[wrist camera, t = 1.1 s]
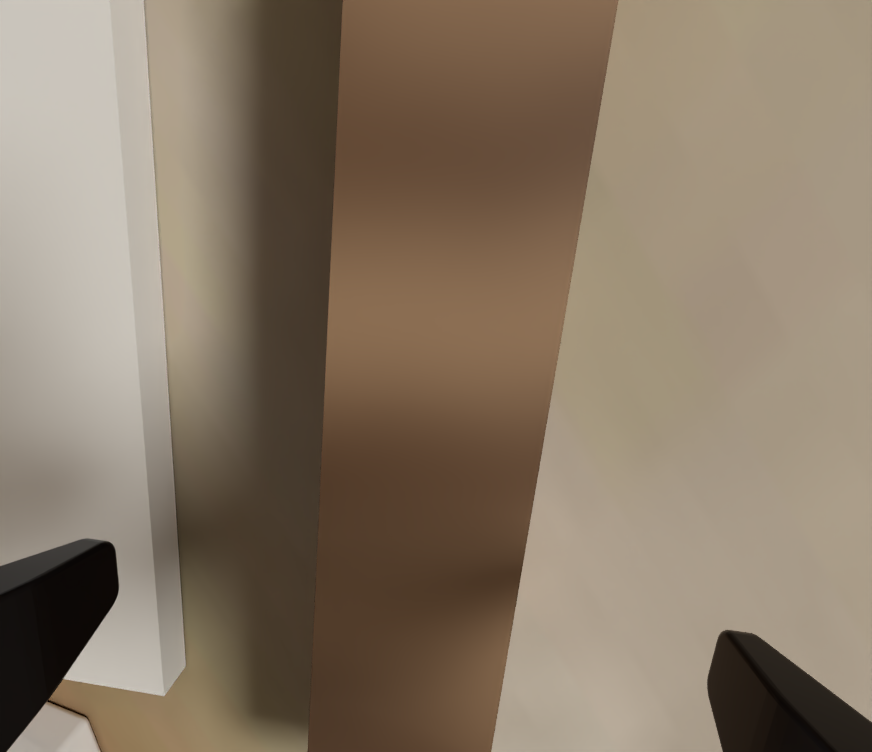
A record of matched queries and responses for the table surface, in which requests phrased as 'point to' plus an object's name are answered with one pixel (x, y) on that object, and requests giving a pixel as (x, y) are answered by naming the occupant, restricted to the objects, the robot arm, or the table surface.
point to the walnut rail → (442, 350)
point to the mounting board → (87, 324)
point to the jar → (56, 732)
